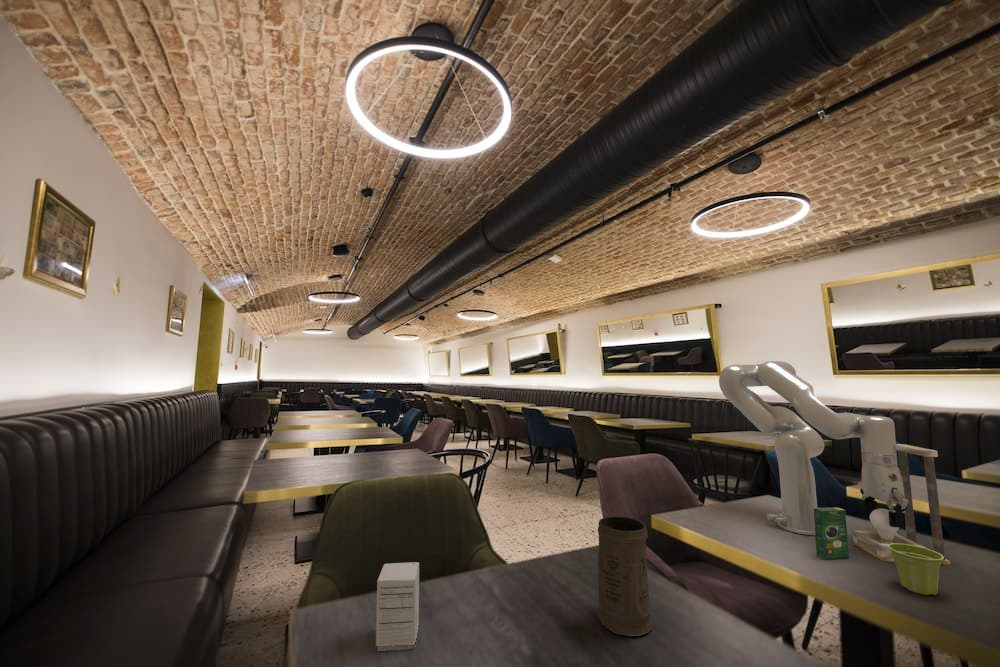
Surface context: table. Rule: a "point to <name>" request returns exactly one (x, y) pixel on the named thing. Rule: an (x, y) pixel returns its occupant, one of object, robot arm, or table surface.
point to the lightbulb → (883, 525)
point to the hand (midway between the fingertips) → (883, 520)
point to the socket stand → (909, 510)
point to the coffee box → (831, 533)
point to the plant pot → (917, 567)
